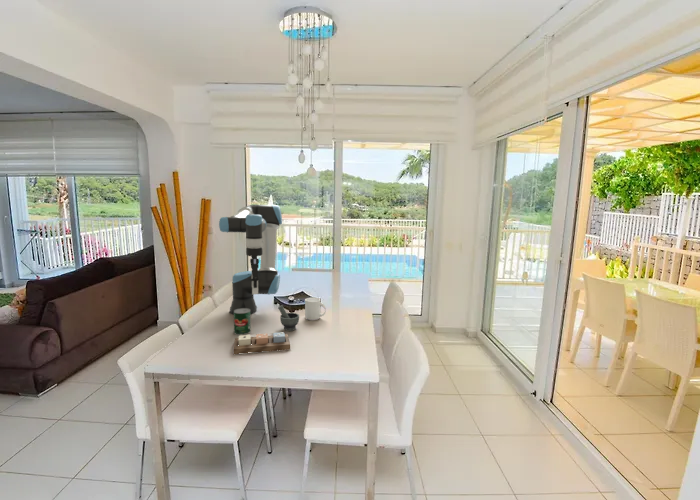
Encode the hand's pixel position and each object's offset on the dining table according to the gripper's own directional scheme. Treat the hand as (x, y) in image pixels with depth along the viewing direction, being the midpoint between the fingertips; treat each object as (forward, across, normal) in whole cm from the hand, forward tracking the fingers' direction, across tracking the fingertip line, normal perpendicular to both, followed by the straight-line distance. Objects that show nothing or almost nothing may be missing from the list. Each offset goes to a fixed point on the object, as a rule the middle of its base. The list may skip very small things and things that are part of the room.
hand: (254, 290), depth 170 cm
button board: (+22, -16, -2) cm, 27 cm away
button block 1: (+20, -16, +5) cm, 26 cm away
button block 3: (+20, -16, -10) cm, 28 cm away
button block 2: (+20, -16, -2) cm, 26 cm away
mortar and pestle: (+22, +3, -16) cm, 28 cm away
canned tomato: (+22, +4, +6) cm, 23 cm away
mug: (+22, +16, -33) cm, 43 cm away
